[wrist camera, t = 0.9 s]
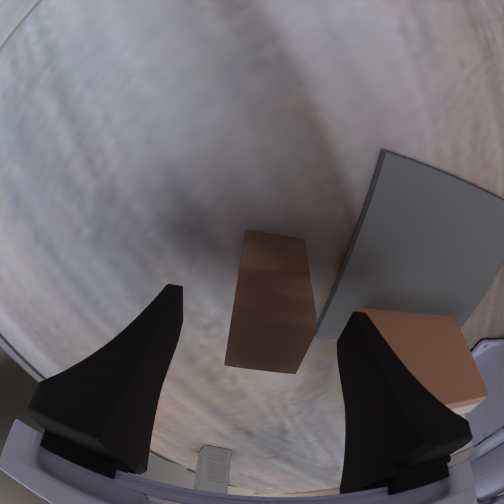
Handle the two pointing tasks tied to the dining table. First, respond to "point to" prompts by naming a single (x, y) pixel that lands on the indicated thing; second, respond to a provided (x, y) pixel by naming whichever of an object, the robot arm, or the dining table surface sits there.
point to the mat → (418, 246)
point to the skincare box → (213, 470)
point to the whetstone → (433, 355)
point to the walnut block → (271, 305)
